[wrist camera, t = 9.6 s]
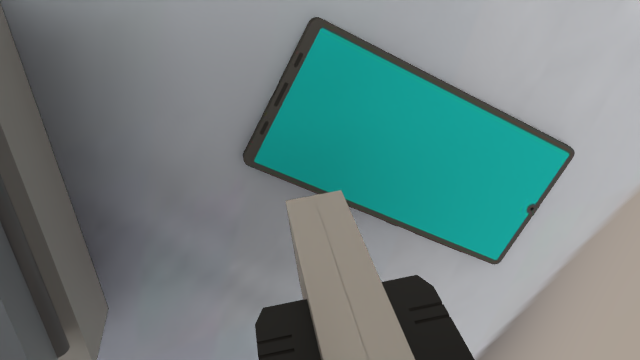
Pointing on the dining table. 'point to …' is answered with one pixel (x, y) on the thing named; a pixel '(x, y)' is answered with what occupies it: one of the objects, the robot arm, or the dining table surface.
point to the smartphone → (403, 145)
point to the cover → (24, 296)
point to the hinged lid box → (47, 209)
